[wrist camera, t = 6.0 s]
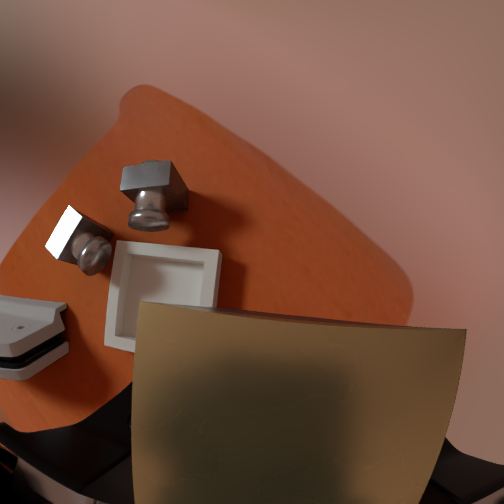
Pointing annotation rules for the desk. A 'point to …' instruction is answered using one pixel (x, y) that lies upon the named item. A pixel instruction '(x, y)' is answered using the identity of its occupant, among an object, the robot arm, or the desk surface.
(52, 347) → the white electronic device
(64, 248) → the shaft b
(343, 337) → the tan and grey block
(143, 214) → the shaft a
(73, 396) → the desk surface
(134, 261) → the white square tray
